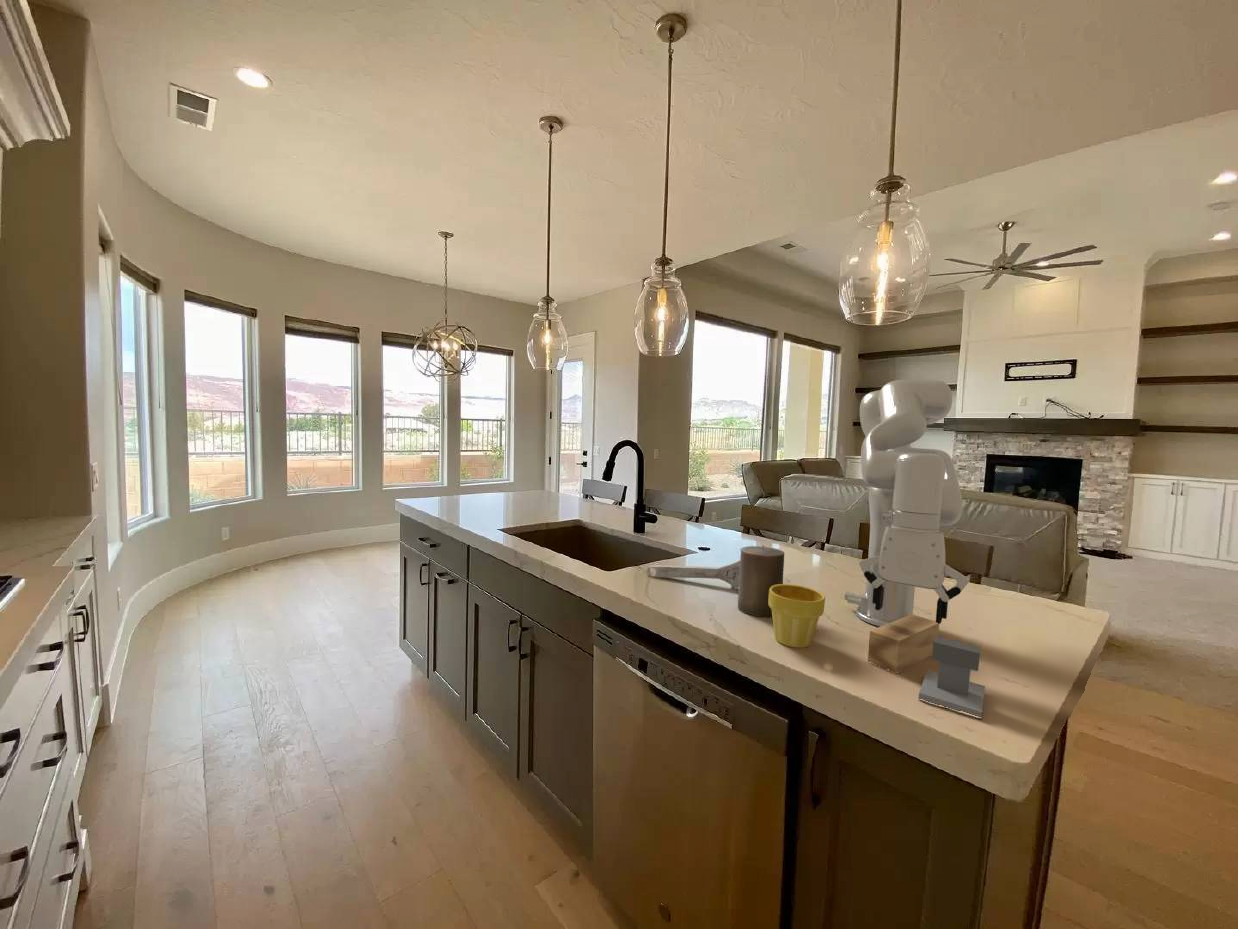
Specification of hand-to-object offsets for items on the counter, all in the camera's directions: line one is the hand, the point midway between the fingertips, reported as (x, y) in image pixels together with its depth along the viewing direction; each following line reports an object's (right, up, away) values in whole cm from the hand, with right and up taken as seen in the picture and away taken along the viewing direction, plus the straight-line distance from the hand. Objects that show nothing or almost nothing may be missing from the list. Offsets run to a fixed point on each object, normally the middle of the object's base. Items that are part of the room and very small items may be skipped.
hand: (907, 614), depth 93 cm
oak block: (0, -9, +2) cm, 9 cm away
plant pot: (-19, -7, +7) cm, 21 cm away
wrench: (-31, -4, +42) cm, 52 cm away
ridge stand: (0, -9, -12) cm, 15 cm away
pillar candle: (-21, -6, +24) cm, 32 cm away
